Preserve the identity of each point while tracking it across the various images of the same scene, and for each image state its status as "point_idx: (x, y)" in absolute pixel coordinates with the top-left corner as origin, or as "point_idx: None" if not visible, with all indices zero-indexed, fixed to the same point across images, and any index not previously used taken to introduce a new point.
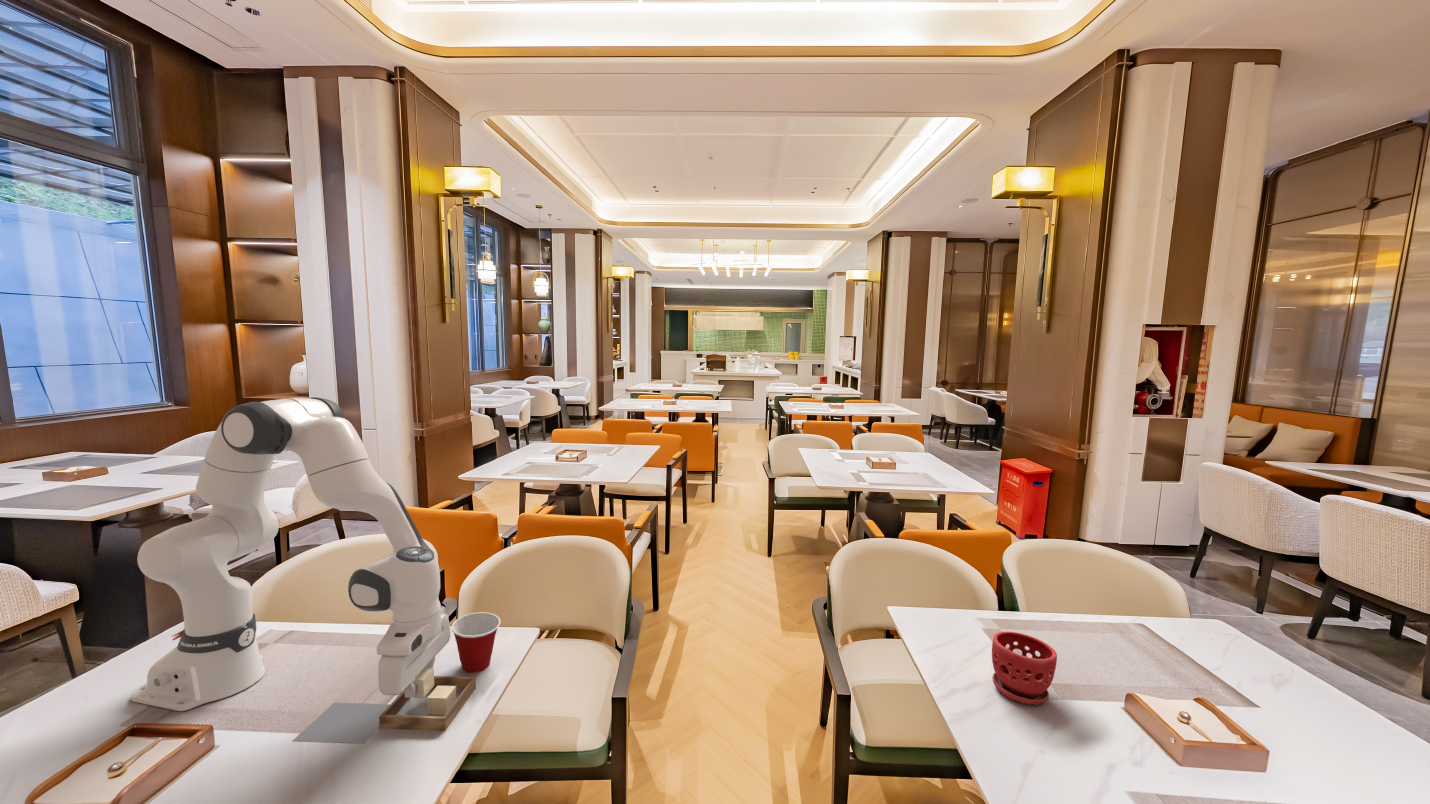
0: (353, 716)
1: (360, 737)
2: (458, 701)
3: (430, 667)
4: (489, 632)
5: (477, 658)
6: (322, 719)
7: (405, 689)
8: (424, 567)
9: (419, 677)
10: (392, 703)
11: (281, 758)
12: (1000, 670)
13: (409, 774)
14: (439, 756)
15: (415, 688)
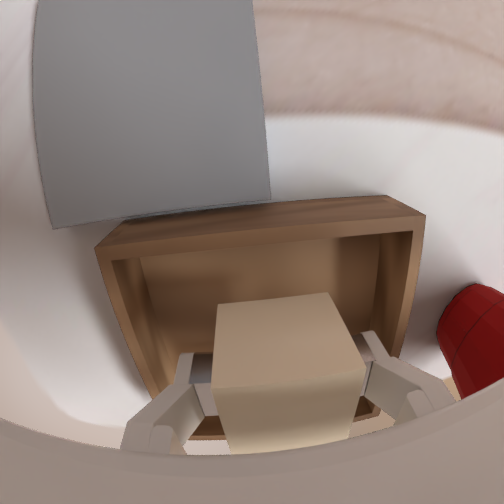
0: (161, 53)
1: (65, 192)
2: None
3: (378, 401)
4: None
5: (458, 387)
6: None
7: (168, 390)
8: None
9: (251, 439)
10: (189, 243)
11: (11, 24)
12: None
13: (65, 380)
14: (123, 409)
15: (203, 412)
